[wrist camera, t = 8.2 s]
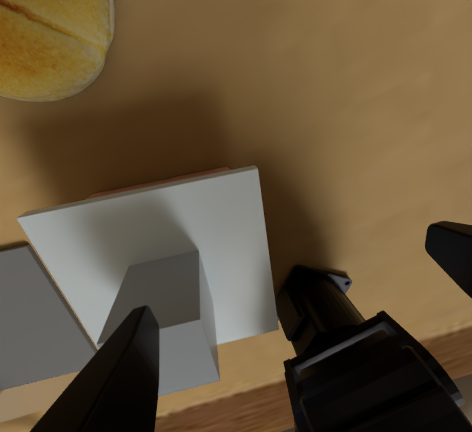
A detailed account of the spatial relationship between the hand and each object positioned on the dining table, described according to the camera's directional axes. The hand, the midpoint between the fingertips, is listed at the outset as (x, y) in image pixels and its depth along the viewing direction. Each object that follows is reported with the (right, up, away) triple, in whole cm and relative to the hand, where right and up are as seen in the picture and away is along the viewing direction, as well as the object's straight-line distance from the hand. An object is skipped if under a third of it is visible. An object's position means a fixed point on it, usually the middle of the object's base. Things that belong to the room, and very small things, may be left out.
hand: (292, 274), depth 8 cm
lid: (-6, -2, +8) cm, 10 cm away
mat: (-23, -8, +13) cm, 28 cm away
